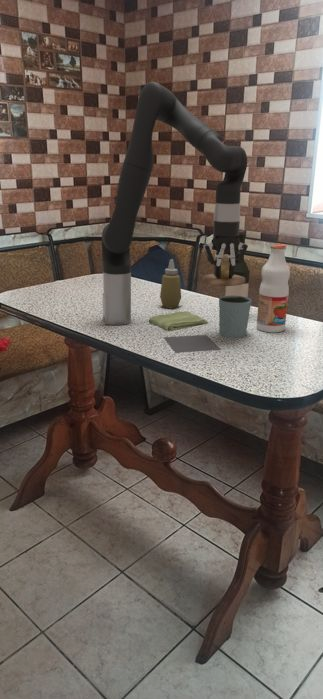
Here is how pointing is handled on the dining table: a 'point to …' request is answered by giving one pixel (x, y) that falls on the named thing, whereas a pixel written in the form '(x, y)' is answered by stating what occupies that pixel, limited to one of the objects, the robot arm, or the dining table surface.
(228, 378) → the dining table surface
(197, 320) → the washcloth
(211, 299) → the dining table surface
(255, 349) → the dining table surface
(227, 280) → the lid
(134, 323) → the dining table surface
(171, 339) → the mat
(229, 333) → the grey-blue cup
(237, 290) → the wine bottle
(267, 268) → the fruit juice
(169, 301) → the squeeze bottle
